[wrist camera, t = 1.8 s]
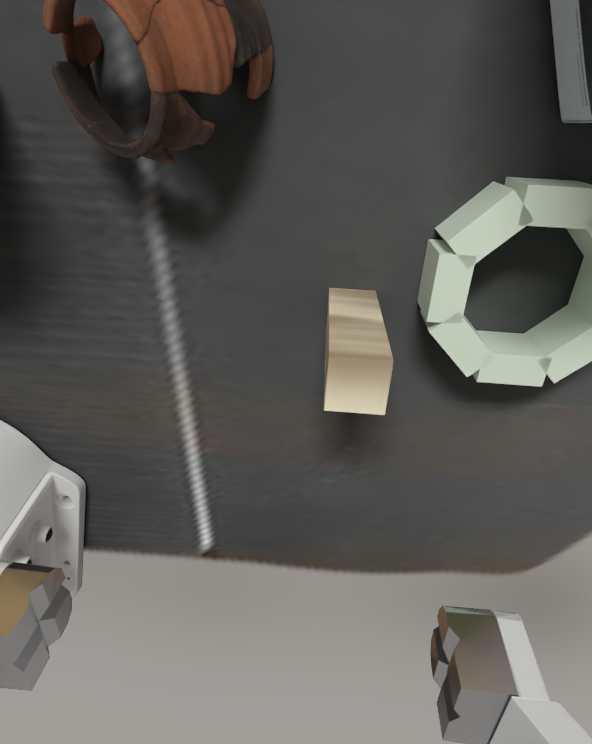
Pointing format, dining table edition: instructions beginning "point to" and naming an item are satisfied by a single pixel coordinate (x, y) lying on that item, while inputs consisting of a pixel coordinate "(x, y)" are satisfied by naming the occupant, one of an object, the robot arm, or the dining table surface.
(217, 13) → the pottery mug
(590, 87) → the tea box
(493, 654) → the robot arm
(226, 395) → the dining table surface
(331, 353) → the wooden block
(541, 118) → the dining table surface
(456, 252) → the sage ring
